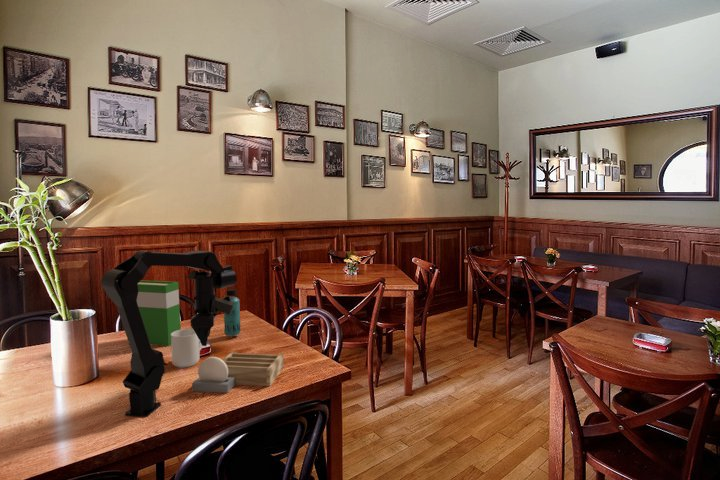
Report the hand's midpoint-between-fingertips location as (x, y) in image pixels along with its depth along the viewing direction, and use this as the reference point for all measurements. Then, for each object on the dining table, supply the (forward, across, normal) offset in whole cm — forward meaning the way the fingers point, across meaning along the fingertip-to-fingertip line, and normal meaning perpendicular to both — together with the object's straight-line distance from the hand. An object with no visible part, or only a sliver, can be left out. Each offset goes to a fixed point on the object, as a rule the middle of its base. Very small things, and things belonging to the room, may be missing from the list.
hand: (206, 341), depth 127 cm
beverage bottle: (+13, +42, -6) cm, 45 cm away
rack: (+13, +2, -13) cm, 18 cm away
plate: (+8, -5, -2) cm, 10 cm away
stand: (+13, -5, -2) cm, 14 cm away
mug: (+13, +19, +8) cm, 24 cm away
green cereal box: (+13, +46, +24) cm, 53 cm away
